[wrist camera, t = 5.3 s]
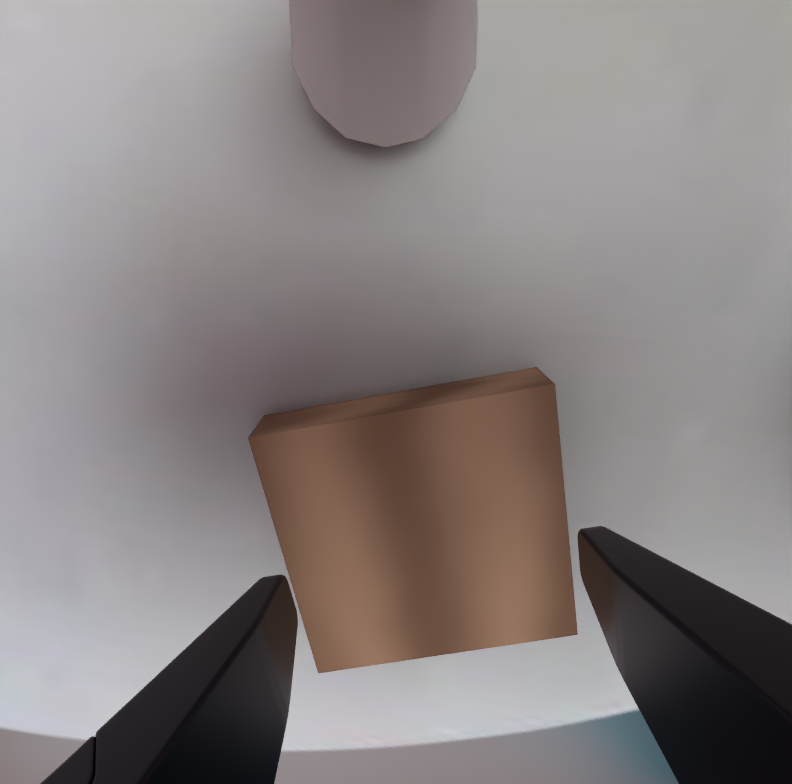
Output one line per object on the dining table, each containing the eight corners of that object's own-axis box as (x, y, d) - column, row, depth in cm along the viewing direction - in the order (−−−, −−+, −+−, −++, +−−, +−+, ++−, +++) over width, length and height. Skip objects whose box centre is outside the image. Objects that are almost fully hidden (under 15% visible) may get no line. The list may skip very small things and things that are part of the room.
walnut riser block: (533, 364, 21) (554, 383, 19) (556, 588, 25) (577, 634, 22) (267, 412, 22) (248, 438, 19) (326, 624, 26) (318, 673, 23)
